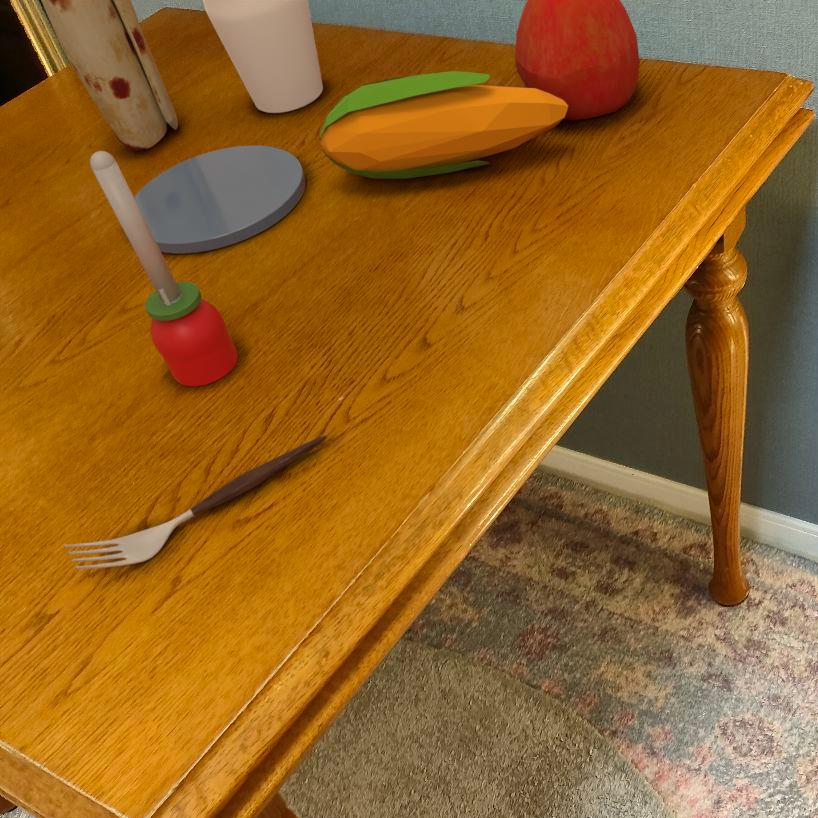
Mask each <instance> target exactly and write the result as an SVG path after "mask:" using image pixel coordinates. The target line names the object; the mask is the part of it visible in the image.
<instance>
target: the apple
mask: <svg viewBox="0 0 818 818" xmlns="http://www.w3.org/2000/svg"><path fill="white" fill-rule="evenodd" d="M630 18H631V17H630V15H629V14H628V11H627V9H626V7H625V5H624V4H623V3H622V1H621V0H527V1H526V2H525V5H524V7H523V10H522V12H521V15H520V18H519V21H518V26H517V31H516V33H515V47H514V48H515V49H514V60H515V66H516V72H517V74H518V75H519V77H520V79H521V81H522V82H523V84H524V86H525V88H536V89H539V90H541V91H544V92H547V93H550V94H552V95H554V96H556V97H558V98H560V99H562V100H564V101H565V103H566V104H567V105H568V109H567V112H566V115H565V117H564V118H563V119H562V120H569V121H579V120H585V119H591V118H593V119H594V118H597V117H601V116H605V115H609V114H613V113H616V112H617V111H619V110H620V109H622V108H623V107H624V106H625V105H626V104H628V103H629V101H630V100H631V98H632V96H633V94H634V92H635V91H636V89H637V87H638V81H639V73H640V63H641V62H640V53H639V45H638V44H639V43H638V36H637V33H636V30H635V28H634V25H633V23H632V21H631V19H630Z"/></svg>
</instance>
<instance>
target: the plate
mask: <svg viewBox="0 0 818 818" xmlns="http://www.w3.org/2000/svg"><path fill="white" fill-rule="evenodd" d="M306 186H307V178H306V175H305V172H304V169H303V166H302V164H301V162H300V161H299V159H298V158H297V157H296V156H295V155H294V154H293V153H291V152H289V151H287V150H285V149H283V148H279V147H274V146H268V145H258V144H257V145H255V144H253V145H241V146H240V145H238V146H231V147H226V148H221V149H216V150H213V151H212V150H211V151H209V152H206V153H202V154H199V155H196V156H194V157H191V158H188V159H186V160H184V161H181V162H178V163H177V164H175V165H173V166H171V167H169V168H167V169H166V170H164V171H163V172H160V173H159V174H158V175H156V176H155V177H154V178H152V179H151V180H150V181H148V182H147V183H146V184H145V185H144V186H142V188H141V189H140V190H138V192H137V193H136V194H135V195H134V196H133V197H134V199H135V201H136V203H137V205H138V207H139V209H140V211H141V213H142V215H143V217H144V219H145V221H146V223H147V225H148V227H149V229H150V231H151V233H152V235H153V237H154V239H155V241H156V243H157V245H158V247H159V249H160V251H161V253H165V254H174V255H175V254H177V255H178V254H179V255H181V254H182V255H183V254H194V253H195V254H197V253H203V252H209V251H213V250H218V249H222V248H226V247H228V246H232V245H235V244H237V243H240V242H243V241H246V240H247V239H250V238H252V237H254V236H257V235H259V234H260V233H262V232H264V231H266V230H267V229H269V228H271V227H273V226H274V225H275V224H278V223H279V222H280V221H281V220H283V218H285V217H286V216H287V215H288V214H289V213H290V212H292V210H293V209H295V207H296V206H297V205H298V203H299V202H300V200H301V199H302V197H303V195H304V194H305V193H304V192H305V191H306Z"/></svg>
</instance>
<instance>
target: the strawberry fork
mask: <svg viewBox="0 0 818 818" xmlns="http://www.w3.org/2000/svg"><path fill="white" fill-rule="evenodd" d="M89 165H90V169H91V170H92V173H93V174H94V176H95V178H96V180H97V182H98V183H99V186H100V188H101V189H102V191H103V193H104V195H105V198H106V199H107V201H108V203H109V204H110V205H109V206H110V207H111V209H112V211H113V212H114V214H115V217H116V218H117V220H118V222H119V224H120V226H121V228H122V229H123V231H124V233H125V235H126V237H127V239H128V241H129V243H130V245H131V247H132V248H133V251H134V253H135V254H136V256H137V258H138V260H139V262H140V264H141V267H142V268H143V270H144V272H145V274H146V276H147V277H148V279H149V281H150V283H151V285H152V287H153V289H154V291H153V292H152V293H151V294H150V295H149V296H148V298H147V299H146V300H145V303H144V310H145V311H146V313H147V315H148V317H150V318H151V321H150V337H151V340H152V343H153V345H154V347H155V349H156V350H157V352H158V353H159V354H160V356H161V357H162V359H163V361H164V362H165V365H166V366H167V368H168V370H169V372H170V373H171V376H172V377H173V379H174V380H175V381H176V382H177V383H178V384H179V385H182V386H186V387H201V386H205V385H209V384H212V383H215V382H217V381H218V380H221V379H223V378H224V377H225V376H227V375H228V374H229V373H230V372H232V370H233V369H234V368H235V366H236V365H237V363H238V359H239V353H238V351H237V348H236V346H235V344H234V342H233V339H232V337H231V336H230V334H229V332H228V329H227V326H226V322H225V319H224V318H223V316H222V314H221V313H220V311H219V310H218V309H217V307H215V306H214V304H213V303H211V302H210V301H208V300H206V299H204V298H202V293H201V290H200V289H199V286H197V285H196V284H195V283H193V282H190V281H176V279H175V277H174V275H173V273H172V271H171V269H170V267H169V265H168V263H167V261H166V259H165V257H164V255H163V252H161V251H160V249H159V247H158V245H157V243H156V241H155V239H154V237H153V235H152V233H151V231H150V229H149V227H148V225H147V223H146V221H145V219H144V217H143V215H142V213H141V211H140V209H139V207H138V205H137V203H136V201H135V199H134V197H135V196H134V195H133V193H132V191H131V189H130V187H129V185H128V183H127V181H126V179H125V176H124V175H123V174H122V171H121V169H120V166H119V165H118V163H117V161H116V159H115V157H114V156H113V155H112V154H111V153H109V152H108V151H104V150H97V151H96V152H94V153H92V155H91V156H90V158H89Z"/></svg>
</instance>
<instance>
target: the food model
mask: <svg viewBox="0 0 818 818" xmlns="http://www.w3.org/2000/svg"><path fill="white" fill-rule="evenodd" d="M40 1H41V4H42V6H43V8H44V10H45V12H46V15H47V18H48V19H49V22H50V25H51V27H52V29H53V31H54V34H55V36H56V38H57V40H58V42H59V45H60V47H61V49H62V51H63V53H64V54H65V56H66V58H67V61H68V62H69V64H70V66H71V67H72V69H73V71H74V72H75V74H76V75H77V77H78V79H79V80H80V81H81V83H82V85H83V86H84V88H85V90H86V91H87V93H88V94H89V96H90V97H91V99H92V100H93V102H94V104H95V105H96V107H97V109H98V110H99V111H100V114H101V115H102V116H103V118H104V120H105V121H106V123H107V124H108V126H109V127H110V128H111V130H112V131H113V134H114V135H115V137H116V139H117V141H118V142H119V143H120V144H121V145H122V146H123V147H124V148H125V149H126V150H128V151H130V152H138V151H142V150H147V149H150V148H152V147H154V146H155V145H156V144H157V143H159V141H161V140H162V139H163V138H164V136H165V135H166V133H167V131H168V125H169V127H171V128H172V129H173V130H174V131H177V129H178V127H179V122H178V118H177V114H176V111H175V108H174V105H173V103H172V101H171V99H170V96H169V94H168V91H167V88H166V86H165V84H164V81H163V79H162V76H161V74H160V72H159V69H158V67H157V64H156V61H155V59H154V57H153V54H152V51H151V49H150V47H149V45H148V42H147V39H146V37H145V35H144V32H143V29H142V27H141V25H140V21H139V18H138V16H137V13H136V10H135V8H134V5H133V4H132V1H131V0H40Z"/></svg>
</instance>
